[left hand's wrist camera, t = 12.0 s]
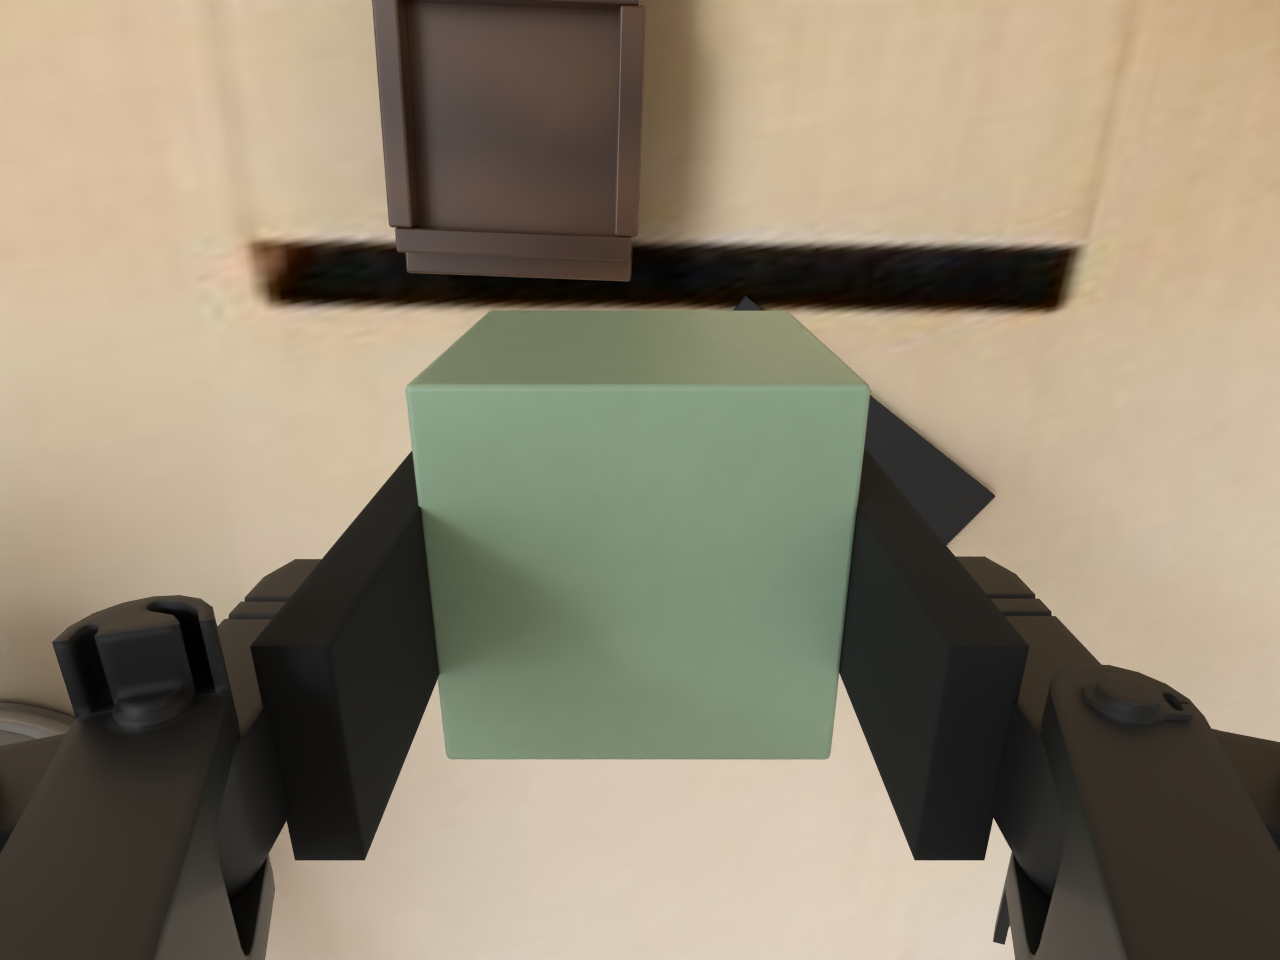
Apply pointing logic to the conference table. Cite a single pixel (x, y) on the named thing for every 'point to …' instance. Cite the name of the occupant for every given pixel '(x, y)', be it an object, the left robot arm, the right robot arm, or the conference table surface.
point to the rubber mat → (918, 468)
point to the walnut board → (512, 134)
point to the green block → (638, 533)
